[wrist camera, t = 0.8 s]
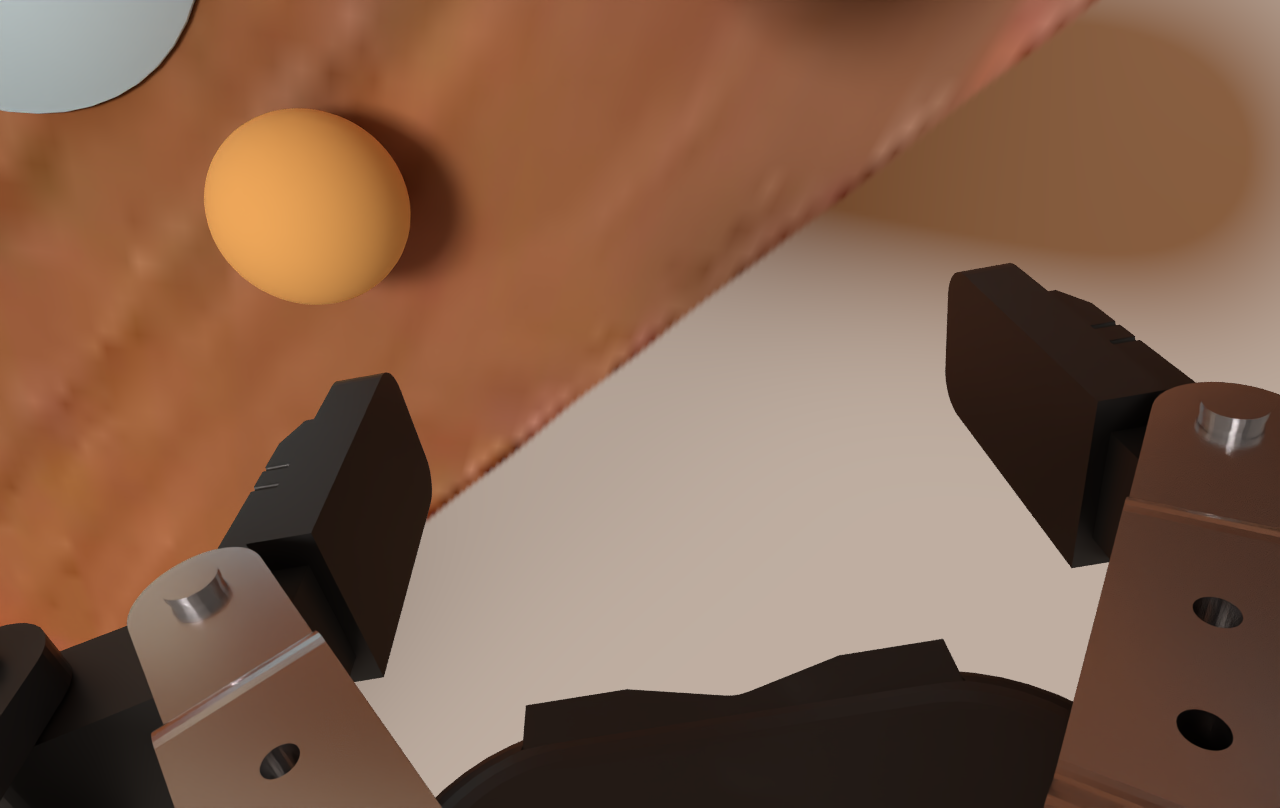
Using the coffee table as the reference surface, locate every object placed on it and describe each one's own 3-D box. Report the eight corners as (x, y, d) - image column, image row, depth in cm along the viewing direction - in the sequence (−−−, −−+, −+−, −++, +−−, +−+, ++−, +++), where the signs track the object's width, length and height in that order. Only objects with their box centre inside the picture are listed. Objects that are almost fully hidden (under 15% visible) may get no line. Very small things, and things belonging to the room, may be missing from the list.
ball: (311, 45, 25) (239, 92, 20) (461, 177, 28) (429, 247, 23) (214, 177, 28) (128, 247, 23) (361, 288, 30) (312, 373, 25)
